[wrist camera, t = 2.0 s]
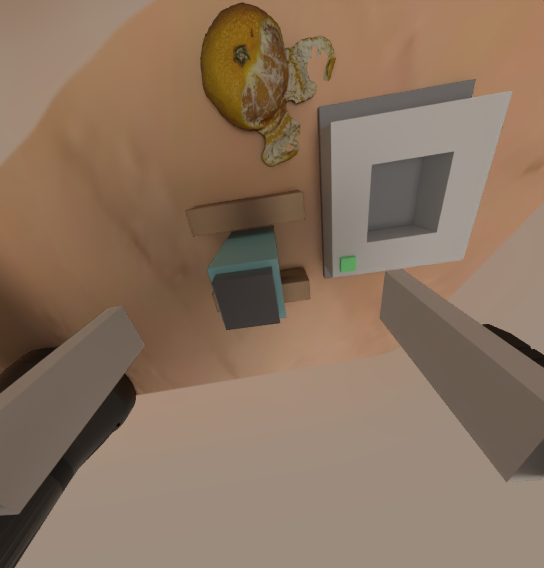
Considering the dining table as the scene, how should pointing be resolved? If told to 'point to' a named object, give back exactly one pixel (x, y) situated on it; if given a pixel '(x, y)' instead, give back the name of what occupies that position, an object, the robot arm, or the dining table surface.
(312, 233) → the dining table surface
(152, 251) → the dining table surface
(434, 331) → the robot arm
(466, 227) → the port
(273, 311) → the plug
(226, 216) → the pair of wooden rails
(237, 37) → the fruit
